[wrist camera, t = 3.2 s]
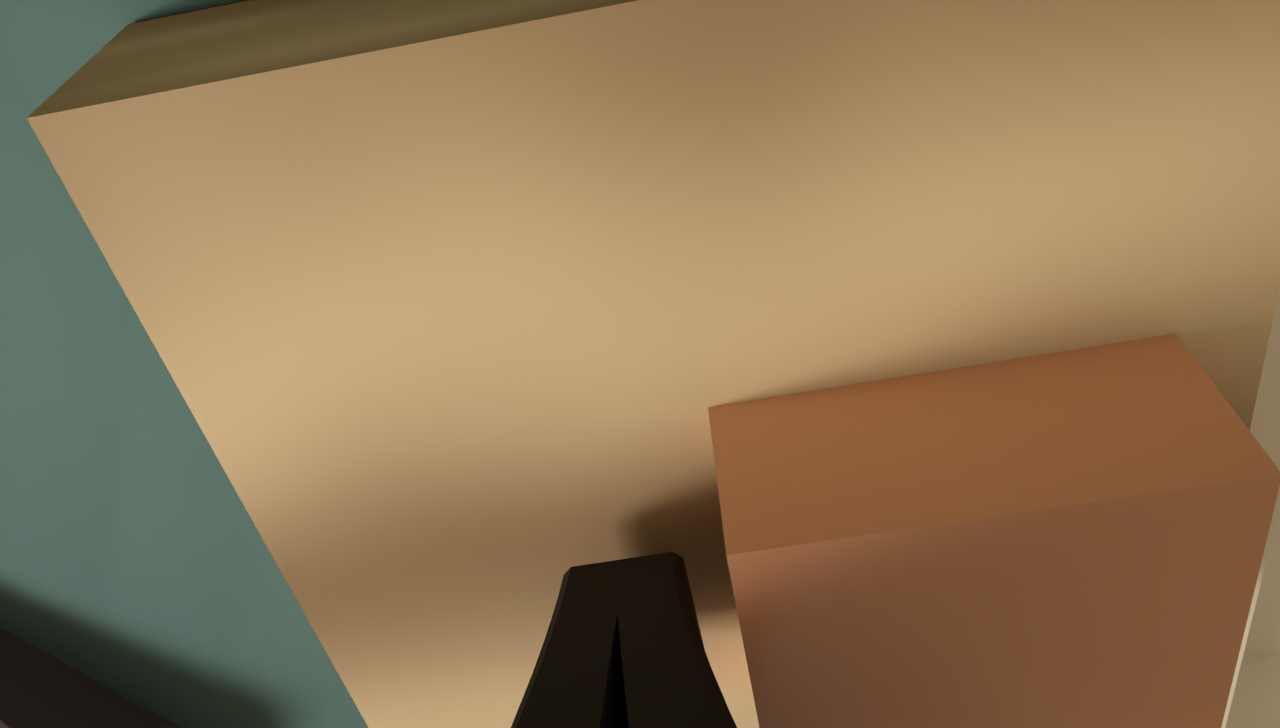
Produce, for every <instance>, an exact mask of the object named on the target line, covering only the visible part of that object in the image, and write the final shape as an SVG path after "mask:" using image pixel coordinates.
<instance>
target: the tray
mask: <svg viewBox="0 0 1280 728" xmlns="http://www.w3.org/2000/svg"><path fill="white" fill-rule="evenodd" d="M1250 432H1251V433H1252V435H1253V436H1254V437H1255V439H1256V440H1257V441H1258V442H1259V444H1260V445H1261V446H1262V448H1263V449H1264V450H1265V452H1266V453H1267V454H1268V456H1269V457H1270V458H1271V460H1272V461H1273V462H1274V463H1275V465H1276V466H1277V467H1278V469H1279V470H1280V289H1279V293H1278V298H1277V303H1276V308H1275V312H1274V317H1273V322H1272V327H1271V331H1270V336H1269V341H1268V346H1267V350H1266V355H1265V360H1264V365H1263V369H1262V374H1261V379H1260V384H1259V388H1258V393H1257V398H1256V403H1255V407H1254V412H1253V417H1252V422H1251V426H1250ZM1221 728H1280V487H1279V491H1278V495H1277V499H1276V503H1275V508H1274V512H1273V516H1272V520H1271V524H1270V528H1269V532H1268V536H1267V541H1266V545H1265V549H1264V553H1263V557H1262V561H1261V565H1260V569H1259V574H1258V578H1257V582H1256V586H1255V590H1254V594H1253V598H1252V602H1251V607H1250V611H1249V615H1248V619H1247V623H1246V627H1245V631H1244V635H1243V640H1242V644H1241V648H1240V652H1239V656H1238V660H1237V664H1236V668H1235V673H1234V677H1233V681H1232V685H1231V689H1230V693H1229V697H1228V701H1227V706H1226V710H1225V714H1224V718H1223V722H1222V726H1221Z"/></svg>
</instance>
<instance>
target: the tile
mask: <svg viewBox="0 0 1280 728" xmlns="http://www.w3.org/2000/svg"><path fill="white" fill-rule="evenodd" d="M708 413H709V421H710V429H711V437H712V445H713V453H714V461H715V469H716V477H717V485H718V493H719V501H720V509H721V517H722V525H723V533H724V541H725V549H726V556H727V562H728V567H729V572H730V577H731V582H732V588H733V593H734V598H735V603H736V608H737V614H738V619H739V624H740V629H741V634H742V640H743V645H744V650H745V655H746V660H747V666H748V671H749V676H750V681H751V686H752V691H753V697H754V702H755V707H756V712H757V717H758V723H759V728H1221V726H1222V722H1223V718H1224V714H1225V710H1226V706H1227V701H1228V697H1229V693H1230V689H1231V685H1232V681H1233V677H1234V673H1235V668H1236V664H1237V660H1238V656H1239V652H1240V648H1241V644H1242V640H1243V635H1244V631H1245V627H1246V623H1247V619H1248V615H1249V611H1250V607H1251V602H1252V598H1253V594H1254V590H1255V586H1256V582H1257V578H1258V574H1259V569H1260V565H1261V561H1262V557H1263V553H1264V549H1265V545H1266V541H1267V536H1268V532H1269V528H1270V524H1271V520H1272V516H1273V512H1274V508H1275V503H1276V499H1277V495H1278V491H1279V487H1280V470H1279V469H1278V467H1277V466H1276V465H1275V463H1274V462H1273V461H1272V460H1271V458H1270V457H1269V456H1268V454H1267V453H1266V452H1265V450H1264V449H1263V448H1262V446H1261V445H1260V444H1259V442H1258V441H1257V440H1256V439H1255V437H1254V436H1253V435H1252V433H1251V432H1250V431H1249V429H1248V428H1247V427H1246V425H1245V424H1244V423H1243V421H1242V420H1241V419H1240V418H1239V416H1238V415H1237V414H1236V412H1235V411H1234V410H1233V408H1232V407H1231V406H1230V404H1229V403H1228V402H1227V400H1226V399H1225V398H1224V396H1223V395H1222V394H1221V393H1220V391H1219V390H1218V389H1217V387H1216V386H1215V385H1214V383H1213V382H1212V381H1211V379H1210V378H1209V377H1208V375H1207V374H1206V373H1205V372H1204V370H1203V369H1202V368H1201V366H1200V365H1199V364H1198V362H1197V361H1196V360H1195V358H1194V357H1193V356H1192V354H1191V353H1190V352H1189V351H1188V349H1187V348H1186V347H1185V345H1184V344H1183V343H1182V341H1181V340H1180V339H1179V337H1178V336H1177V335H1176V333H1175V334H1169V335H1162V336H1156V337H1150V338H1143V339H1137V340H1131V341H1124V342H1118V343H1112V344H1106V345H1099V346H1093V347H1087V348H1080V349H1074V350H1068V351H1061V352H1055V353H1049V354H1042V355H1036V356H1030V357H1023V358H1017V359H1011V360H1004V361H998V362H992V363H986V364H979V365H973V366H967V367H960V368H954V369H948V370H941V371H935V372H929V373H922V374H916V375H910V376H903V377H897V378H891V379H884V380H878V381H872V382H866V383H859V384H853V385H847V386H840V387H834V388H828V389H821V390H815V391H809V392H802V393H796V394H790V395H783V396H777V397H771V398H765V399H758V400H752V401H746V402H739V403H733V404H727V405H720V406H714V407H708Z"/></svg>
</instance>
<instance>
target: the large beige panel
mask: <svg viewBox="0 0 1280 728" xmlns="http://www.w3.org/2000/svg"><path fill="white" fill-rule="evenodd" d="M27 119H28V121H29V123H30V125H31V126H32V128H33V130H34V132H35V134H36V135H37V137H38V139H39V141H40V142H41V144H42V146H43V148H44V150H45V151H46V153H47V155H48V157H49V159H50V160H51V162H52V164H53V166H54V167H55V169H56V171H57V173H58V175H59V176H60V178H61V180H62V182H63V183H64V185H65V187H66V189H67V191H68V192H69V194H70V196H71V198H72V200H73V201H74V203H75V205H76V207H77V208H78V210H79V212H80V214H81V216H82V217H83V219H84V221H85V223H86V224H87V226H88V228H89V230H90V232H91V233H92V235H93V237H94V239H95V241H96V242H97V244H98V246H99V248H100V249H101V251H102V253H103V255H104V257H105V258H106V260H107V262H108V264H109V266H110V267H111V269H112V271H113V273H114V274H115V276H116V278H117V280H118V282H119V283H120V285H121V287H122V289H123V290H124V292H125V294H126V296H127V298H128V299H129V301H130V303H131V305H132V307H133V308H134V310H135V312H136V314H137V315H138V317H139V319H140V321H141V323H142V324H143V326H144V328H145V330H146V331H147V333H148V335H149V337H150V339H151V340H152V342H153V344H154V346H155V348H156V349H157V351H158V353H159V355H160V356H161V358H162V360H163V362H164V364H165V365H166V367H167V369H168V371H169V373H170V374H171V376H172V378H173V380H174V381H175V383H176V385H177V387H178V389H179V390H180V392H181V394H182V396H183V397H184V399H185V401H186V403H187V405H188V406H189V408H190V410H191V412H192V414H193V415H194V417H195V419H196V421H197V422H198V424H199V426H200V428H201V430H202V431H203V433H204V435H205V437H206V439H207V440H208V442H209V444H210V446H211V447H212V449H213V451H214V453H215V455H216V456H217V458H218V460H219V462H220V463H221V465H222V467H223V469H224V471H225V472H226V474H227V476H228V478H229V480H230V481H231V483H232V485H233V487H234V488H235V490H236V492H237V494H238V496H239V497H240V499H241V501H242V503H243V504H244V506H245V508H246V510H247V512H248V513H249V515H250V517H251V519H252V521H253V522H254V524H255V526H256V528H257V529H258V531H259V533H260V535H261V537H262V538H263V540H264V542H265V544H266V546H267V547H268V549H269V551H270V553H271V554H272V556H273V558H274V560H275V562H276V563H277V565H278V567H279V569H280V570H281V572H282V574H283V576H284V578H285V579H286V581H287V583H288V585H289V587H290V588H291V590H292V592H293V594H294V595H295V597H296V599H297V601H298V603H299V604H300V606H301V608H302V610H303V611H304V613H305V615H306V617H307V619H308V620H309V622H310V624H311V626H312V628H313V629H314V631H315V633H316V635H317V636H318V638H319V640H320V642H321V644H322V645H323V647H324V649H325V651H326V653H327V654H328V656H329V658H330V660H331V661H332V663H333V665H334V667H335V669H336V670H337V672H338V674H339V676H340V677H341V679H342V681H343V683H344V685H345V686H346V688H347V690H348V692H349V694H350V695H351V697H352V699H353V701H354V702H355V704H356V706H357V708H358V710H359V711H360V713H361V715H362V717H363V718H364V720H365V722H366V724H367V726H368V727H369V728H511V726H512V723H513V721H514V718H515V716H516V713H517V711H518V708H519V706H520V703H521V701H522V698H523V696H524V693H525V691H526V688H527V686H528V683H529V681H530V678H531V676H532V673H533V671H534V668H535V665H536V662H537V659H538V657H539V654H540V651H541V648H542V645H543V643H544V640H545V637H546V634H547V631H548V628H549V625H550V622H551V618H552V615H553V612H554V608H555V605H556V602H557V598H558V595H559V591H560V587H561V583H562V580H563V576H564V574H565V573H566V572H567V571H568V570H569V568H570V567H574V566H580V565H587V564H594V563H600V562H607V561H614V560H620V559H627V558H634V557H640V556H647V555H654V554H660V553H667V552H674V553H676V554H678V555H679V556H681V557H683V559H684V563H685V568H686V572H687V576H688V580H689V585H690V589H691V593H692V598H693V602H694V606H695V610H696V615H697V619H698V623H699V628H700V632H701V636H702V640H703V645H704V649H705V652H706V655H707V658H708V660H709V663H710V666H711V668H712V671H713V673H714V675H715V678H716V680H717V682H718V685H719V687H720V690H721V692H722V694H723V697H724V699H725V701H726V704H727V706H728V709H729V711H730V713H731V715H732V718H733V720H734V722H735V724H736V726H737V728H759V723H758V717H757V712H756V707H755V702H754V697H753V691H752V686H751V681H750V676H749V671H748V666H747V660H746V655H745V650H744V645H743V640H742V634H741V629H740V624H739V619H738V614H737V608H736V603H735V598H734V593H733V588H732V582H731V577H730V572H729V567H728V562H727V556H726V549H725V541H724V533H723V525H722V517H721V509H720V501H719V493H718V485H717V477H716V469H715V461H714V453H713V445H712V437H711V429H710V421H709V413H708V407H714V406H720V405H727V404H733V403H739V402H746V401H752V400H758V399H765V398H771V397H777V396H783V395H790V394H796V393H802V392H809V391H815V390H821V389H828V388H834V387H840V386H847V385H853V384H859V383H866V382H872V381H878V380H884V379H891V378H897V377H903V376H910V375H916V374H922V373H929V372H935V371H941V370H948V369H954V368H960V367H967V366H973V365H979V364H986V363H992V362H998V361H1004V360H1011V359H1017V358H1023V357H1030V356H1036V355H1042V354H1049V353H1055V352H1061V351H1068V350H1074V349H1080V348H1087V347H1093V346H1099V345H1106V344H1112V343H1118V342H1124V341H1131V340H1137V339H1143V338H1150V337H1156V336H1162V335H1169V334H1175V333H1176V335H1177V336H1178V337H1179V339H1180V340H1181V341H1182V343H1183V344H1184V345H1185V347H1186V348H1187V349H1188V351H1189V352H1190V353H1191V354H1192V356H1193V357H1194V358H1195V360H1196V361H1197V362H1198V364H1199V365H1200V366H1201V368H1202V369H1203V370H1204V372H1205V373H1206V374H1207V375H1208V377H1209V378H1210V379H1211V381H1212V382H1213V383H1214V385H1215V386H1216V387H1217V389H1218V390H1219V391H1220V393H1221V394H1222V395H1223V396H1224V398H1225V399H1226V400H1227V402H1228V403H1229V404H1230V406H1231V407H1232V408H1233V410H1234V411H1235V412H1236V414H1237V415H1238V416H1239V418H1240V419H1241V420H1242V421H1243V423H1244V424H1245V425H1246V427H1247V428H1248V429H1249V431H1250V426H1251V422H1252V417H1253V412H1254V407H1255V403H1256V398H1257V393H1258V388H1259V384H1260V379H1261V374H1262V369H1263V365H1264V360H1265V355H1266V350H1267V346H1268V341H1269V336H1270V331H1271V327H1272V322H1273V317H1274V312H1275V308H1276V303H1277V298H1278V293H1279V289H1280V0H248V1H243V2H238V3H233V4H228V5H223V6H218V7H213V8H208V9H203V10H198V11H193V12H188V13H183V14H178V15H173V16H167V17H162V18H157V19H152V20H147V21H142V22H137V23H132V24H128V25H127V26H126V27H125V28H124V29H123V30H122V31H120V32H119V33H118V34H117V35H116V36H115V37H114V38H113V39H112V40H111V41H110V42H109V43H107V44H106V45H105V46H104V47H103V48H102V49H101V50H100V51H99V52H98V53H97V54H96V55H94V56H93V57H92V58H91V59H90V60H89V61H88V62H87V63H86V64H85V65H84V66H83V67H82V68H80V69H79V70H78V71H77V72H76V73H75V74H74V75H73V76H72V77H71V78H70V79H69V80H67V81H66V82H65V83H64V84H63V85H62V86H61V87H60V88H59V89H58V90H57V91H56V92H54V93H53V94H52V95H51V96H50V97H49V98H48V99H47V100H46V101H45V102H44V103H43V104H41V105H40V106H39V107H38V108H37V109H36V110H35V111H34V112H33V113H32V114H31V115H30V116H28V117H27Z"/></svg>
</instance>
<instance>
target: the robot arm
mask: <svg viewBox="0 0 1280 728" xmlns="http://www.w3.org/2000/svg"><path fill="white" fill-rule="evenodd" d="M511 728H737V726H736V724H735V722H734V720H733V718H732V715H731V713H730V711H729V709H728V706H727V704H726V701H725V699H724V697H723V694H722V692H721V690H720V687H719V685H718V682H717V680H716V678H715V675H714V673H713V671H712V668H711V666H710V663H709V660H708V658H707V655H706V652H705V649H704V645H703V640H702V636H701V632H700V628H699V623H698V619H697V615H696V610H695V606H694V602H693V598H692V593H691V589H690V585H689V580H688V576H687V572H686V568H685V563H684V559H683V557H681V556H679V555H678V554H676V553H674V552H667V553H660V554H654V555H647V556H640V557H634V558H627V559H620V560H614V561H607V562H600V563H594V564H587V565H580V566H574V567H570V568H569V570H568V571H567V572H566V573H565V574H564V576H563V580H562V583H561V587H560V591H559V595H558V598H557V602H556V605H555V608H554V612H553V615H552V618H551V622H550V625H549V628H548V631H547V634H546V637H545V640H544V643H543V645H542V648H541V651H540V654H539V657H538V659H537V662H536V665H535V668H534V671H533V673H532V676H531V678H530V681H529V683H528V686H527V688H526V691H525V693H524V696H523V698H522V701H521V703H520V706H519V708H518V711H517V713H516V716H515V718H514V721H513V723H512V726H511Z"/></svg>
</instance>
